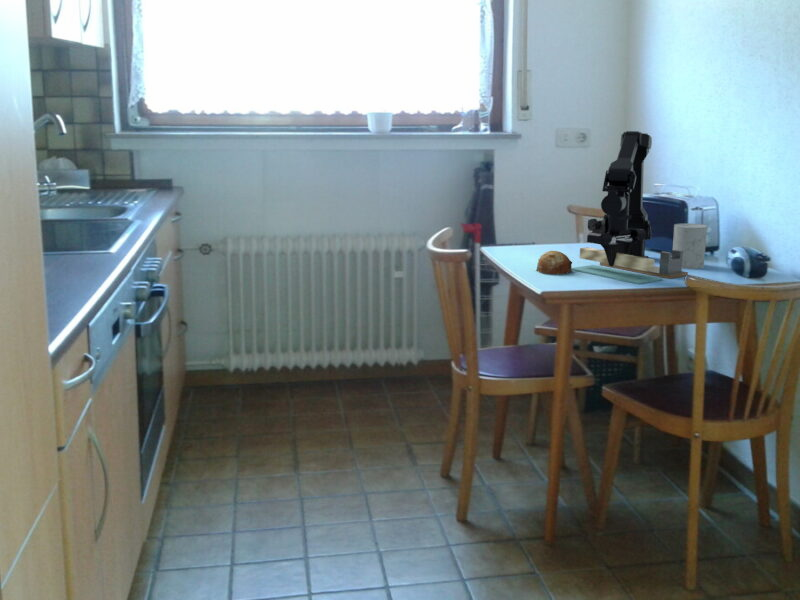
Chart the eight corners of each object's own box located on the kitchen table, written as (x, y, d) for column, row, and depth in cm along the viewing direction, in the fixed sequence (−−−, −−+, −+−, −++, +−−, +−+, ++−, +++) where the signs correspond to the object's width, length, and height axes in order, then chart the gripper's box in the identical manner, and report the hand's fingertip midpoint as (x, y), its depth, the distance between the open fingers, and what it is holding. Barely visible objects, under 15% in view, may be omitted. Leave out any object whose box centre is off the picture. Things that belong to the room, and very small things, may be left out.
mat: (592, 266, 267) (592, 264, 267) (662, 280, 246) (662, 278, 246) (569, 269, 261) (569, 268, 261) (638, 284, 240) (638, 282, 240)
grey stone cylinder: (706, 264, 270) (709, 224, 267) (702, 269, 261) (705, 228, 259) (673, 262, 274) (676, 222, 271) (668, 267, 265) (671, 226, 263)
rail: (579, 258, 262) (580, 248, 261) (586, 257, 264) (587, 247, 263) (646, 271, 242) (647, 260, 241) (653, 270, 244) (654, 259, 243)
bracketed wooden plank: (599, 265, 269) (600, 242, 267) (617, 262, 273) (618, 239, 271) (669, 278, 248) (671, 254, 246) (687, 275, 252) (689, 251, 251)
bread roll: (538, 280, 264) (528, 256, 262) (569, 265, 264) (559, 241, 262) (546, 287, 255) (536, 262, 253) (579, 271, 254) (568, 247, 253)
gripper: (618, 206, 261) (615, 258, 265) (573, 210, 251) (571, 264, 254) (648, 210, 252) (645, 263, 256) (603, 214, 242) (600, 270, 245)
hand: (615, 265), depth 253 cm, fingers closed on rail, 3 cm apart
